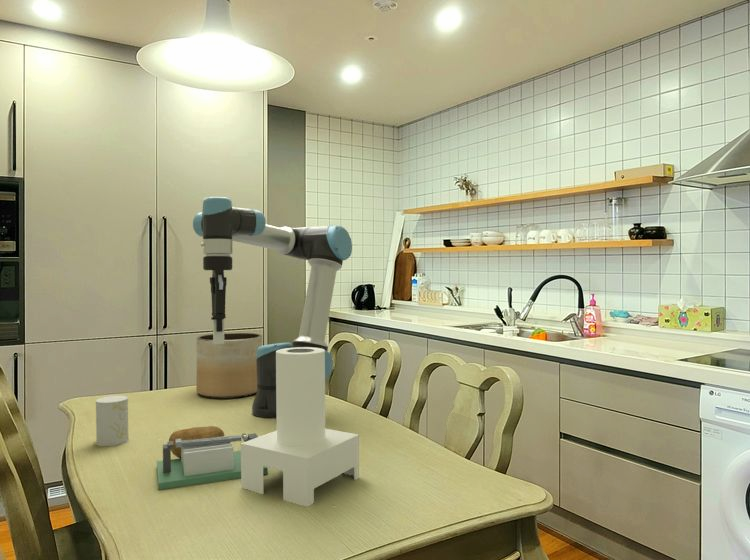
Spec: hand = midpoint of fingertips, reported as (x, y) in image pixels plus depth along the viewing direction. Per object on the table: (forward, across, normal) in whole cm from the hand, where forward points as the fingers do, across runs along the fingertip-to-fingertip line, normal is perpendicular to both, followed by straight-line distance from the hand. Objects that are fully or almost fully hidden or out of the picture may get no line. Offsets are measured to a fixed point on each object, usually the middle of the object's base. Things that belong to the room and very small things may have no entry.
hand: (218, 343), depth 149 cm
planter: (+29, -69, +13) cm, 76 cm away
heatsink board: (+28, +16, -4) cm, 33 cm away
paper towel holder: (+29, +32, +14) cm, 45 cm away
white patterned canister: (+29, -19, -27) cm, 44 cm away
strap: (+22, +16, -4) cm, 27 cm away
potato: (+29, +6, -6) cm, 30 cm away
